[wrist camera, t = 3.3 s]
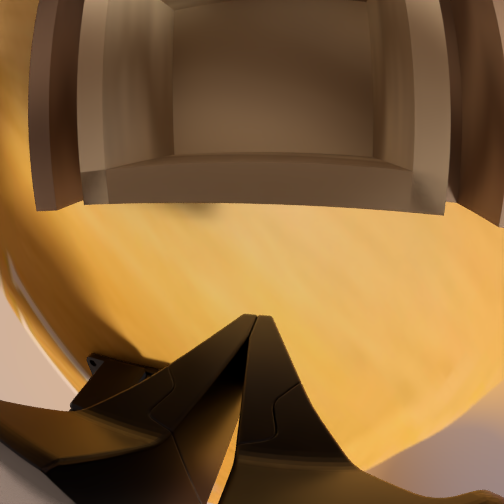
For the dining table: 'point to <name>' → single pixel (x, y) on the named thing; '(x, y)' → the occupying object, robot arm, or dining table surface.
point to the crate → (265, 103)
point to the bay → (461, 99)
